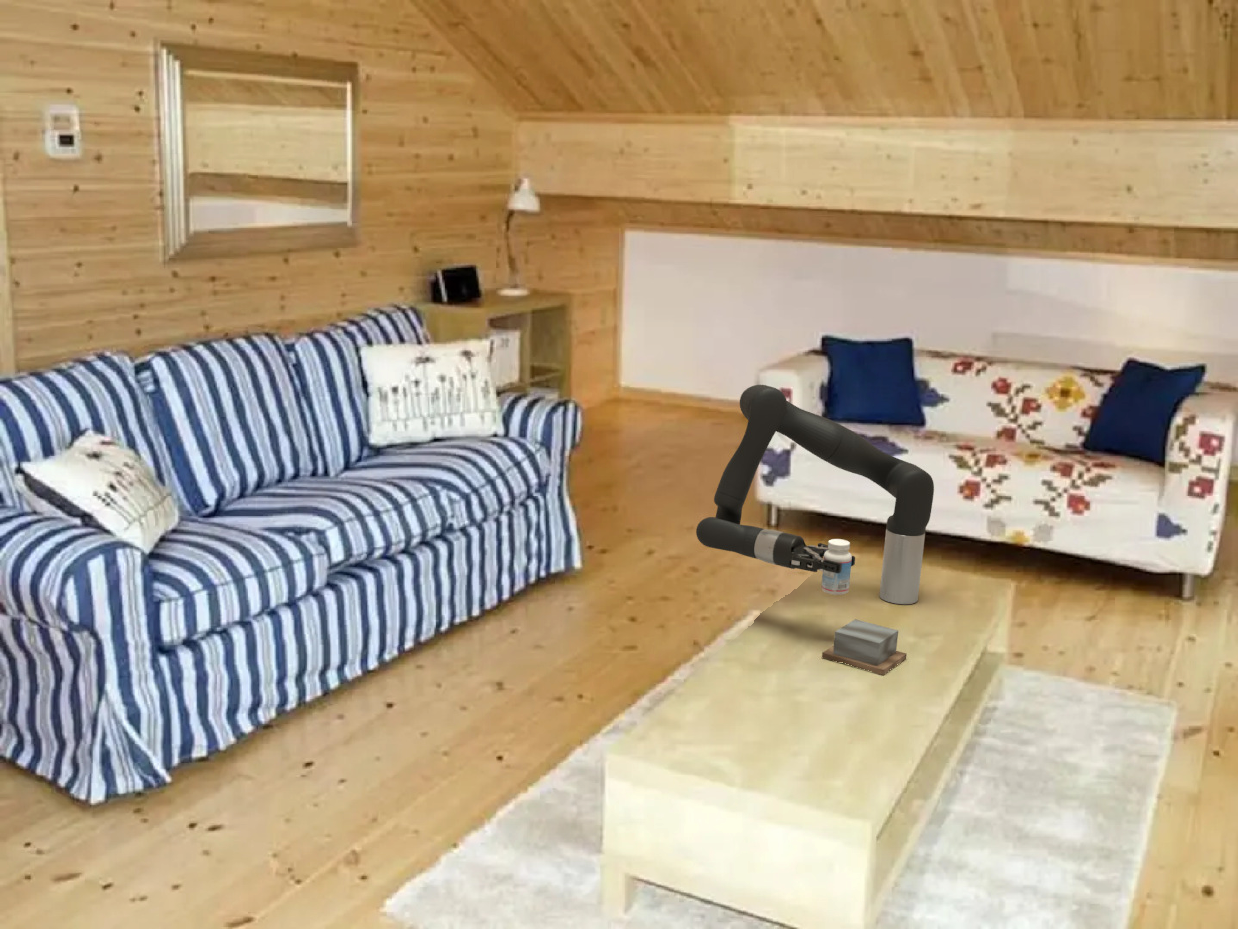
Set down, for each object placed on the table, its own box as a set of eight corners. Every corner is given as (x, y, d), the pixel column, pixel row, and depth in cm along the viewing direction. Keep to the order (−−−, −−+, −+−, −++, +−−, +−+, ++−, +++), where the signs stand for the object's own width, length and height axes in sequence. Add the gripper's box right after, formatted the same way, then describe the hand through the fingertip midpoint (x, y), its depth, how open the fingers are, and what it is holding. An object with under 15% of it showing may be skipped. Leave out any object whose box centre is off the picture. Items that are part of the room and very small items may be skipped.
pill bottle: (847, 587, 281) (852, 539, 278) (849, 596, 275) (854, 547, 273) (820, 585, 282) (824, 536, 279) (821, 594, 276) (826, 545, 273)
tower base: (846, 642, 279) (848, 615, 278) (906, 658, 271) (909, 631, 270) (821, 658, 269) (824, 630, 268) (883, 675, 262) (886, 647, 260)
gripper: (765, 539, 278) (834, 556, 269) (795, 525, 290) (863, 541, 280) (762, 571, 280) (831, 589, 271) (792, 557, 291) (860, 573, 282)
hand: (847, 565), depth 276 cm, fingers closed on pill bottle, 6 cm apart
